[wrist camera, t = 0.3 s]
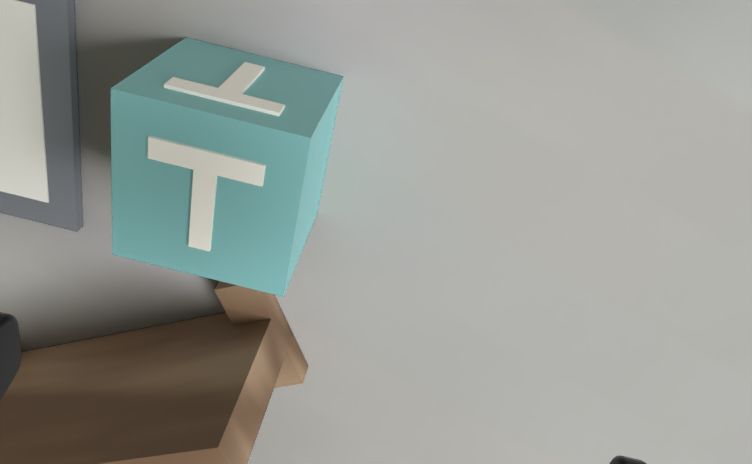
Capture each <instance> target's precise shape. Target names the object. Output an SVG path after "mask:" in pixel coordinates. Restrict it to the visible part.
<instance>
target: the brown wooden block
mask: <svg viewBox="0 0 752 464" xmlns="http://www.w3.org/2000/svg"><path fill="white" fill-rule="evenodd" d="M214 291H215V293H216V295H217V297H218V298H219V300H220V302H221V304H222V306H223V308H224V310H225V312H226V313H221V314H215V315H210V316H205V317H200V318H195V319H190V320H185V321H179V322H174V323H169V324H164V325H159V326H154V327H149V328H143V329H138V330H133V331H128V332H123V333H118V334H113V335H108V336H102V337H97V338H92V339H87V340H82V341H77V342H72V343H66V344H61V345H56V346H51V347H46V348H41V349H36V350H30V351H25V352H21V364H20V367H19V370H18V372H17V374H16V376H15V377H14V379H13V381H12V382H11V384H10V386H9V387H8V389H7V391H6V393H5V394H4V396H3V398H2V399H1V401H0V464H247V462H248V460H249V457H250V454H251V451H252V448H253V446H254V443H255V440H256V437H257V434H258V431H259V429H260V426H261V423H262V420H263V417H264V415H265V412H266V409H267V406H268V403H269V400H270V398H271V395H272V392H273V389H274V388H275V387H282V386H288V385H294V384H301V383H303V381H304V378H305V375H306V371H307V368H308V364H307V362H306V360H305V358H304V356H303V354H302V352H301V350H300V347H299V345H298V343H297V341H296V339H295V337H294V335H293V333H292V331H291V329H290V326H289V324H288V322H287V320H286V318H285V316H284V314H283V312H282V310H281V308H280V306H279V303H278V301H277V299H276V297H275V295H274V294H270V293H266V292H262V291H258V290H254V289H250V288H246V287H242V286H238V285H234V284H230V283H226V282H222V281H219V282H218V284H217V286H216V288H215V289H214Z"/></svg>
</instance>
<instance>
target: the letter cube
mask: <svg viewBox="0 0 752 464" xmlns="http://www.w3.org/2000/svg"><path fill="white" fill-rule="evenodd" d="M342 82H343V76H339V75H335V74H331V73H327V72H323V71H319V70H315V69H311V68H307V67H303V66H299V65H295V64H291V63H287V62H283V61H279V60H275V59H271V58H267V57H263V56H259V55H255V54H251V53H247V52H243V51H239V50H235V49H231V48H227V47H223V46H219V45H215V44H211V43H207V42H203V41H199V40H195V39H191V38H187V37H186V38H184V39H183V40H181V41H180V42H178V43H177V44H175V45H174V46H172V47H171V48H169V49H168V50H167V51H165V52H164V53H162V54H161V55H159V56H158V57H156V58H155V59H153V60H152V61H150V62H149V63H147V64H146V65H144V66H143V67H141V68H140V69H138V70H137V71H135V72H134V73H133V74H131V75H130V76H128V77H127V78H125V79H124V80H122V81H121V82H119V83H118V84H116V85H115V86H113V87H112V88H111V185H112V255H116V256H120V257H124V258H128V259H132V260H136V261H140V262H144V263H149V264H153V265H157V266H161V267H165V268H169V269H173V270H177V271H181V272H185V273H189V274H193V275H197V276H201V277H205V278H209V279H214V280H218V281H222V282H226V283H230V284H234V285H238V286H242V287H246V288H250V289H254V290H258V291H262V292H266V293H270V294H275V295H279V296H283V297H284V294H285V292H286V289H287V287H288V284H289V282H290V279H291V277H292V274H293V272H294V269H295V267H296V264H297V262H298V260H299V257H300V255H301V252H302V250H303V247H304V245H305V242H306V240H307V237H308V235H309V232H310V230H311V227H312V225H313V222H314V220H315V218H316V215H317V212H318V207H319V202H320V197H321V191H322V186H323V181H324V176H325V171H326V165H327V160H328V155H329V150H330V144H331V139H332V134H333V129H334V124H335V118H336V113H337V108H338V103H339V97H340V92H341V87H342Z"/></svg>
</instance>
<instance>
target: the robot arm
mask: <svg viewBox="0 0 752 464" xmlns="http://www.w3.org/2000/svg"><path fill="white" fill-rule="evenodd" d="M20 364H21V346H20V337H19V329H18V322H17V320H16V318H15V317H14V316H12V315H10V314H6V313H2V312H0V401H1V399H2V398H3V396H4V394H5V393H6V391H7V389H8V387H9V386H10V384H11V382H12V381H13V379H14V377H15V376H16V374H17V372H18V370H19V367H20ZM610 464H646V463H645V462H644V461H641V460H638V459H633V458H629V457H625V456H616V457H614V458H613V459H612V461H611V462H610Z"/></svg>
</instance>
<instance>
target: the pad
mask: <svg viewBox="0 0 752 464" xmlns="http://www.w3.org/2000/svg"><path fill="white" fill-rule="evenodd" d="M0 213H4V214H8V215H12V216H16V217H20V218H24V219H28V220H32V221H36V222H40V223H44V224H48V225H52V226H56V227H60V228H64V229H68V230H72V231H78V230H79V229H80V228H81V227H83V218H82V192H81V166H80V140H79V113H78V87H77V61H76V35H75V8H74V0H0Z"/></svg>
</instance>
